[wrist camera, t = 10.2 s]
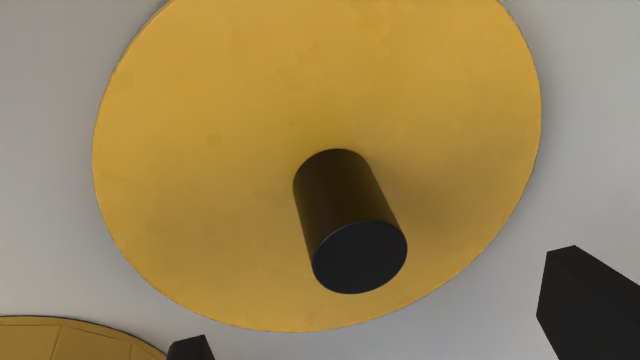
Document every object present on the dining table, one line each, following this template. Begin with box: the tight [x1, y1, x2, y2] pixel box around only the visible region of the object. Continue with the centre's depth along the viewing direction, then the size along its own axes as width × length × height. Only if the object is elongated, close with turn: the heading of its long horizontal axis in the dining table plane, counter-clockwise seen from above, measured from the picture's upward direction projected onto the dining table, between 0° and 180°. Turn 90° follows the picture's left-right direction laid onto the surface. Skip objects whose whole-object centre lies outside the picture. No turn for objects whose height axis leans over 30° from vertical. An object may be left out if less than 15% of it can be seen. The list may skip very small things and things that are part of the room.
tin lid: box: [92, 0, 542, 333], centre depth 14 cm, size 13×13×4 cm
